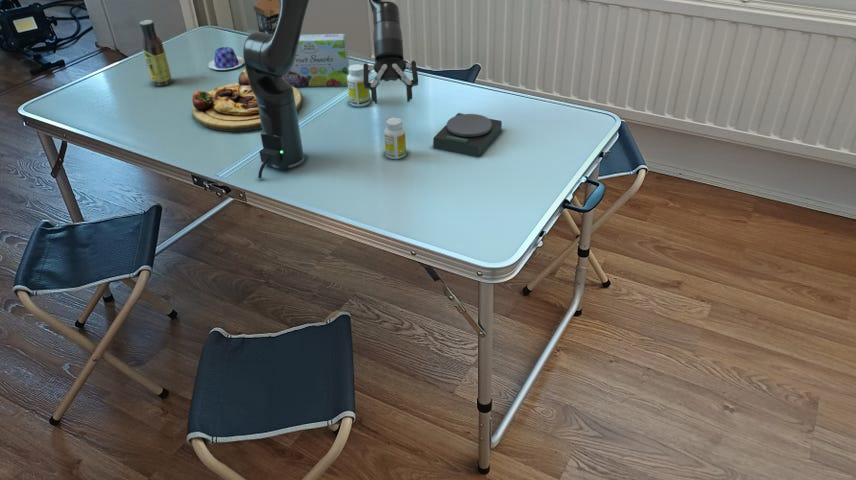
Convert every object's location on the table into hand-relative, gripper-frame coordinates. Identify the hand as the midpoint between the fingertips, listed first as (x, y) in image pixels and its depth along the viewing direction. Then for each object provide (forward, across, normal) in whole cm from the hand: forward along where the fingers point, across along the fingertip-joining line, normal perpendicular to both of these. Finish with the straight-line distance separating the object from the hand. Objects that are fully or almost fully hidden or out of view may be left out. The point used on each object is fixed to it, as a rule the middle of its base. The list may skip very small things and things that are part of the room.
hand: (392, 101), depth 189 cm
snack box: (-22, -23, +38) cm, 50 cm away
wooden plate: (-11, -43, +27) cm, 52 cm away
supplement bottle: (+13, 0, +3) cm, 14 cm away
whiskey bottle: (-35, -36, +51) cm, 71 cm away
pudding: (-36, -54, +52) cm, 84 cm away
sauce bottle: (-27, -73, +44) cm, 89 cm away
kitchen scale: (+9, +20, +7) cm, 23 cm away
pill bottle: (-10, -10, +27) cm, 30 cm away
